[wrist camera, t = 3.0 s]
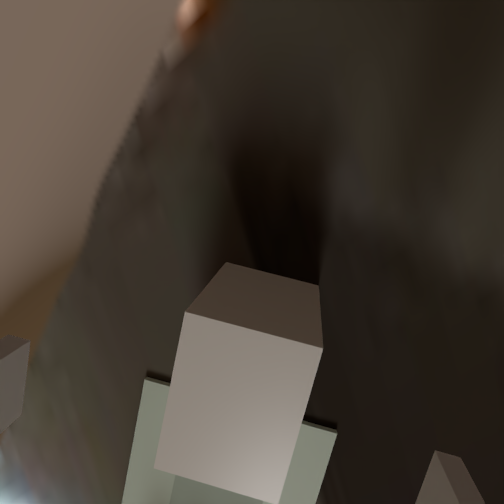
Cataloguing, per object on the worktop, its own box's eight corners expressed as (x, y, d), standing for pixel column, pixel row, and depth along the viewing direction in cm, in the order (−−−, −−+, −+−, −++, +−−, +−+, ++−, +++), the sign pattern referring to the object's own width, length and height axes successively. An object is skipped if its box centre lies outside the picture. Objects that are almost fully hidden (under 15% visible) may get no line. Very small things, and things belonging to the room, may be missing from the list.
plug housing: (226, 261, 21) (184, 311, 14) (318, 285, 20) (323, 348, 13) (201, 373, 22) (153, 468, 15) (287, 396, 22) (277, 505, 15)
